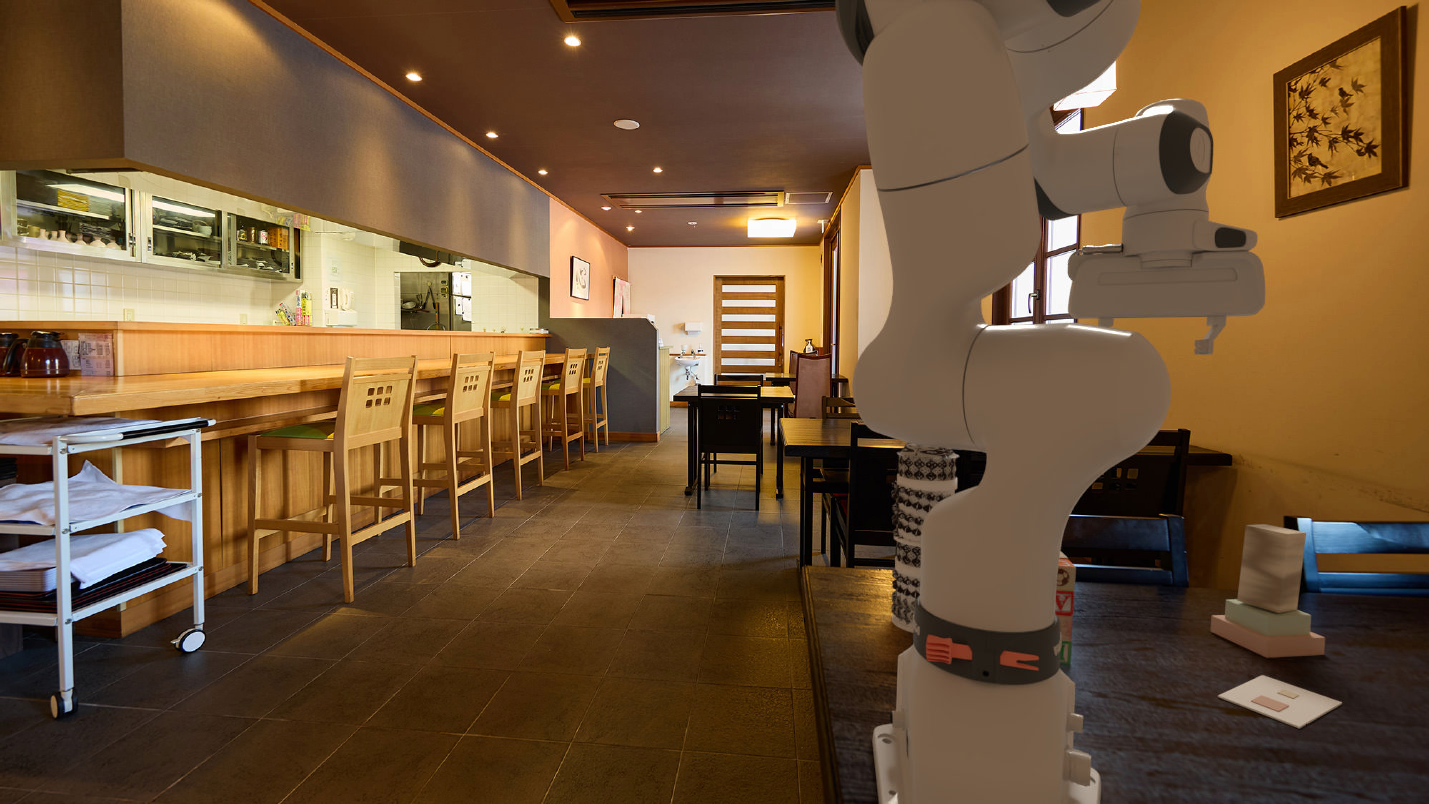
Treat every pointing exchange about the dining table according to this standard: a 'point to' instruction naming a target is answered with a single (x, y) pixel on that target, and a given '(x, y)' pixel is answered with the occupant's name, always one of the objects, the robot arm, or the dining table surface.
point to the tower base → (1268, 642)
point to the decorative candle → (916, 518)
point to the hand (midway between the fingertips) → (1158, 354)
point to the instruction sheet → (1280, 701)
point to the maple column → (1271, 567)
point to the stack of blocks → (1065, 605)
